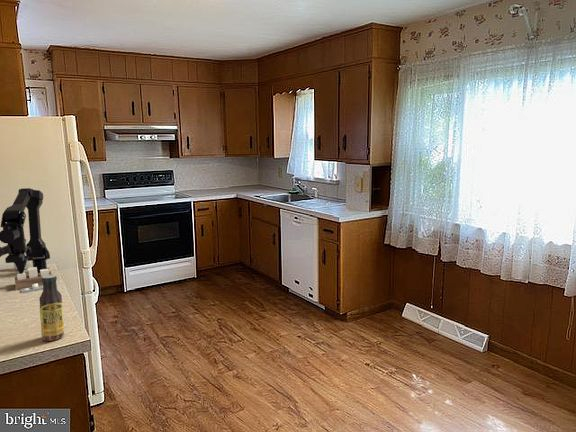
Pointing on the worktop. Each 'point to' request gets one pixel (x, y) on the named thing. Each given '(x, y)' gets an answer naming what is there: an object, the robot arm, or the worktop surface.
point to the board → (29, 281)
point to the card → (32, 288)
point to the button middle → (33, 272)
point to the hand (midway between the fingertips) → (21, 273)
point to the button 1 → (21, 276)
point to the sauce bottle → (51, 310)
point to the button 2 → (44, 272)
